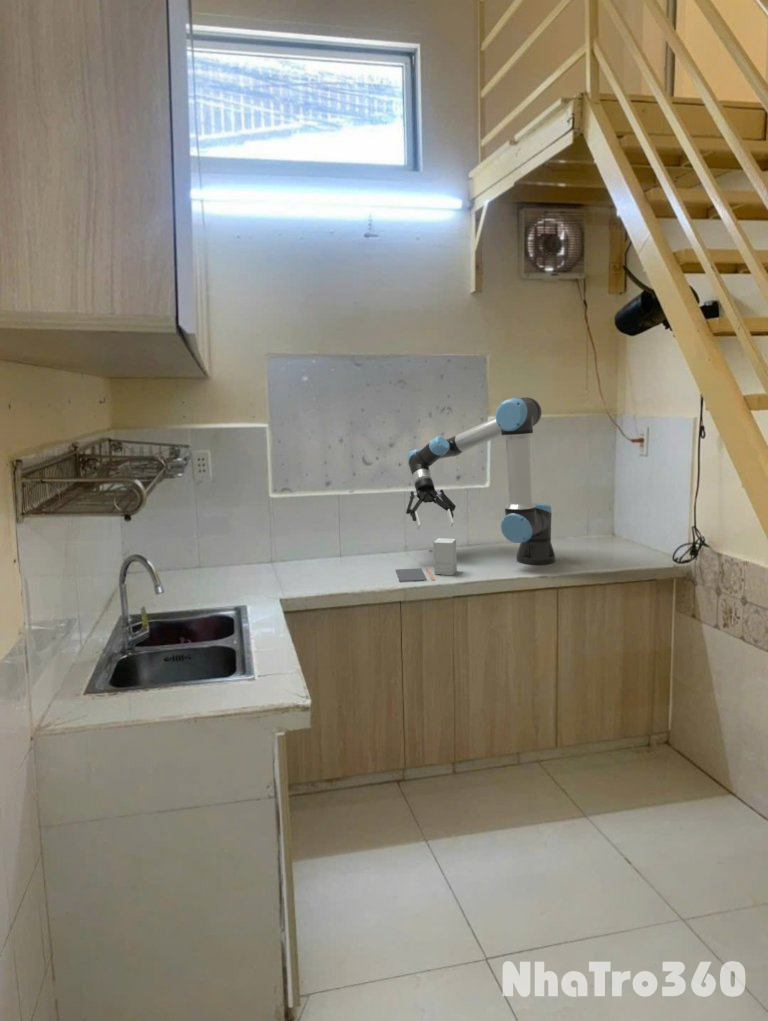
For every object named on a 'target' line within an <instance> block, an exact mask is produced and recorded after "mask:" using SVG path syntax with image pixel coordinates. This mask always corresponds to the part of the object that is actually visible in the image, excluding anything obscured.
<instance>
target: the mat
mask: <svg viewBox="0 0 768 1021" xmlns="http://www.w3.org/2000/svg"><path fill="white" fill-rule="evenodd" d="M395 573H396V575H397V579H398V578H399V579H398V581H399V582H400V581H413V582H425V581H424V580H427V581H428V579H427V577H426V575H425V573H424V571H423V568H420V567H419V568H401V569H400V568H399V569H395Z"/></svg>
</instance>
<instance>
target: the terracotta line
mask: <svg viewBox="0 0 768 1021" xmlns="http://www.w3.org/2000/svg"><path fill="white" fill-rule="evenodd" d="M426 569H427V570H426V572H427V571H428V572H427V574H428V573H429V574H428V575H430V576H429V577H430V579H431V581H432V580H434V581H436V578H435V576H434V575H433V573H432V570H431V569H430V568H428V567H427V568H426Z"/></svg>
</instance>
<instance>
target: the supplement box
mask: <svg viewBox="0 0 768 1021" xmlns="http://www.w3.org/2000/svg"><path fill="white" fill-rule="evenodd" d="M457 560H458V559H457V539H456V538H442V537H441V538H439V537H438V538H436V540H434V542H433V565H434V566H433V570H434V571H433V572H434V575H438V574H441V575H442V576H454V575H455V573H456V572H457V569H458V568H457V567H458V566H457V563H458V562H457ZM441 575H440V576H441Z"/></svg>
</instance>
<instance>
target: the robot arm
mask: <svg viewBox="0 0 768 1021" xmlns="http://www.w3.org/2000/svg"><path fill="white" fill-rule="evenodd" d="M542 413H543V411H542V407H541V405H540V403H539V402H538V401H537V400H535V399H534V398H532V397H512V398H509V399H505V400H503V401H502V402H501V403H499V405H498V407H497V408H496V411H495V417H494V418H491V419H490V420H487V421H485V422H483V423H480V424H478V425H476V426H473V427H470V429H467V430H464V431H463V432H461V433H458V434H456V435H453V436H451V437H449V438H445V437H443V436H441V435H438V436H435V437H434V438H432V439H431V440H430V441H429V442H428V443H427V444H426V445H425V446H424V447H423V448H422V449H421V448H415V449H413V450H410V451H409V452H408V454H407V462H408V464H407V465H408V467H409V469H410V472H411V475H412V476H411V477H412V480H413V484H414V487H415V488H414V489H415V492H414V491H413V490H412V491H410V493H409V494H410V495H409V502H408V505H407V508H406V510H405V511H406V512H405V513H406V515H410V517H411V519H412V521H413V522H415V525H416V529H417V530H420V527H421V522H420V517H419V515H418V514H419V513H418V511H417V510H418V509H419V507H420V506H421V504H422V503H424V504H426V503H433V504H436V505H437V506H439V507H441V509H442V510H443V509H444V511H446V516H447V520H448V523H449V527H453V525H454V512H455V510H456V504H454V502H453V501H452V500H451V499H450V498H449V497H448V496H447V495H446V493H445V492H444V490H443V489H440V491H437V490H436V489H435V483H434V482H433V477H432V474H431V471H430V467H431V466H432V465H433V464H434V463H436V462H437V461H438V460H441V459H445V458H451V457H457V456H459V455H461V454H462V453H464V452H466V451H469V450H471V449H473V448H475V447H477V446H480V445H483V444H485V443H487V442H489V441H491V440H494V439H497V438H500V437H501V436H502V438H504V439H505V440H504V441H505V448H506V449H505V450H506V471H507V472H506V474H507V475H506V476H507V492H508V503H507V504H506V505H505V506H504V516H503V518H502V520H501V523H500V530H501V533H502V534H503V536H504V538H505V539H507V540H508V541H509V542H511V543H514V544H519V547H518V549H517V552H516V561H517V562H519V563H521V564H526V565H535V566H536V565H538V566H539V565H549V564H553V563H555V561H556V554H555V551H554V547H553V544H552V514H553V513H552V507H551V505H550V504H545V503H534V502H533V501H532V479H531V478H532V477H531V455H530V437H531V436H532V435H533V433H534V427H535V426H537V424H539V422H540V420H541V418H542ZM416 497H417V498H418V500H417V501H416V503H415V505H414V506H413V508H412V509H411V507H412V505H413V501H414V499H416Z"/></svg>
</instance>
